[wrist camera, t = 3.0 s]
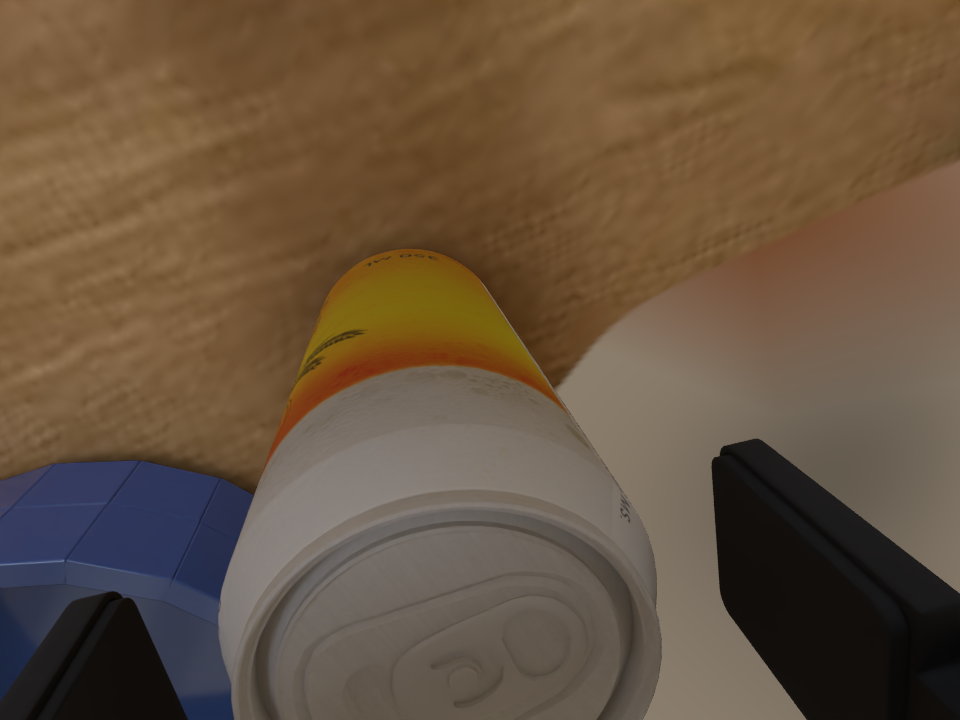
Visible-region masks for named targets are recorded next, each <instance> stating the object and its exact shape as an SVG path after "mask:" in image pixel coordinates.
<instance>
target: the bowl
mask: <svg viewBox="0 0 960 720" xmlns="http://www.w3.org/2000/svg"><path fill="white" fill-rule="evenodd" d="M253 497H254V495H253V494H251V493H249V492H247V491H245V490H243V489H241V488H240V487H238V486H236V485H234V484H232V483H230V482H228V481H226V480H224V479H220V478H218V477H213V476H209V475H204V474H200V473H195V472H191V471H186V470H182V469H177V468H173V467H168V466H164V465H159V464H155V463H150V462H146V461H141V462H140V461H139V460H132V461H106V462H81V463H58V464H52V465H49V466H45V467H42V468H39V469H36V470H33V471H30V472H27V473H24V474H21V475H18V476H15V477H12V478H8V479H5V480H2V481H0V701H1V700H2V698H3V697H4V695H5V694H6V693H7V691H8V690H9V688H10V687H11V685H12V684H13V683H14V681H15V680H16V678H17V677H18V675H19V674H20V673H21V671H22V670H23V668H24V667H25V665H26V664H27V663H28V661H29V660H30V658H31V657H32V656H33V654H34V653H35V651H36V650H37V648H38V647H39V646H40V644H41V643H42V641H43V640H44V638H45V637H46V636H47V634H48V633H49V631H50V630H51V629H52V627H53V626H54V624H55V623H56V621H57V620H58V619H59V617H60V616H61V614H62V613H63V611H64V610H65V609H66V607H67V606H68V605H69V604H70V603H71V602H72V601H74V600H77V599H81V598H85V597H89V596H93V595H98V594H102V593H106V592H110V591H115V592H118V593H119V594H120V595H122V597H123V598H127V597H128V598H131V599H132V600H133V601H134V602H135V604H136V605H137V608H138V610H139V612H140V614H141V617H142V619H143V621H144V623H145V625H146V628H147V630H148V632H149V634H150V636H151V639H152V641H153V643H154V645H155V648H156V650H157V652H158V654H159V656H160V659H161V661H162V663H163V665H164V667H165V670H166V672H167V674H168V676H169V679H170V681H171V683H172V685H173V687H174V690H175V692H176V694H177V696H178V699H179V701H180V703H181V705H182V707H183V710H184V712H185V714H186V716H187V718H188V720H234V715H233V709H232V702H231V682H230V679H229V676H228V673H227V670H226V667H225V664H224V660H223V657H222V654H221V647H220V641H219V634H218V610H219V604H220V597H221V590H222V586H223V583H224V580H225V576H226V573H227V570H228V567H229V564H230V561H231V558H232V555H233V553H234V550H235V547H236V544H237V542H238V539H239V536H240V533H241V531H242V528H243V525H244V522H245V519H246V517H247V514H248V511H249V508H250V506H251V503H252V500H253Z"/></svg>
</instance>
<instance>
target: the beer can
mask: <svg viewBox="0 0 960 720" xmlns="http://www.w3.org/2000/svg"><path fill="white" fill-rule="evenodd" d="M656 580H657V578H656V568H655V561H654V554H653V551H652V548H651V544H650V541H649V537H648V534H647V532H646V530H645V528H644V526H643V524H642V521H641V519H640V517H639V515H638V514H637V512H636V511H635V509H634V508H633V506H632V504H631V503H630V502H629V500H628V499H627V497H626V495H625V494H624V492H623V491H622V489H621V488H620V486H619V485H618V483H617V482H616V481H615V479H614V477H613V476H612V474H611V473H610V471H609V470H608V469H607V467H606V466H605V464H604V463H603V461H602V460H601V458H600V457H599V455H598V454H597V452H596V451H595V449H594V448H593V446H592V445H591V443H590V442H589V440H588V439H587V437H586V436H585V434H584V433H583V431H582V430H581V428H580V427H579V425H578V424H577V422H576V421H575V419H574V418H573V416H572V415H571V413H570V412H569V410H568V409H567V408H566V406H565V404H564V403H563V401H562V400H561V399H560V397H559V396H558V394H557V393H556V391H555V390H554V388H553V387H552V385H551V384H550V382H549V381H548V379H547V378H546V376H545V375H544V373H543V372H542V370H541V369H540V367H539V366H538V364H537V363H536V361H535V360H534V358H533V357H532V355H531V354H530V352H529V351H528V349H527V348H526V346H525V345H524V343H523V342H522V340H521V339H520V337H519V336H518V334H517V333H516V331H515V330H514V328H513V327H512V325H511V324H510V323H509V321H508V320H507V318H506V317H505V315H504V314H503V312H502V311H501V309H500V308H499V306H498V305H497V303H496V302H495V300H494V299H493V297H492V296H491V294H490V293H489V291H488V290H487V288H486V287H485V285H484V284H483V283H482V282H481V281H480V279H479V278H478V277H477V276H476V275H475V274H474V273H473V272H472V271H470V270H469V269H468V268H466V267H465V266H464V265H462V264H461V263H459V262H457V261H456V260H454V259H452V258H450V257H447V256H445V255H443V254H439V253H436V252H433V251H428V250H422V249H397V250H392V251H387V252H383V253H380V254H377V255H374V256H372V257H370V258H367V259H365V260H363V261H362V262H360V263H358V264H357V265H355V266H354V267H353V268H351V269H350V270H349V271H347V272H346V273H345V274H344V275H343V276H342V277H341V278H340V279H339V280H338V281H337V283H336V284H335V285H334V286H333V288H332V289H331V291H330V292H329V294H328V296H327V297H326V300H325V302H324V304H323V306H322V309H321V311H320V314H319V317H318V320H317V323H316V325H315V328H314V331H313V334H312V336H311V339H310V342H309V345H308V347H307V350H306V353H305V356H304V359H303V361H302V364H301V367H300V370H299V372H298V375H297V378H296V381H295V384H294V386H293V389H292V392H291V395H290V397H289V400H288V403H287V406H286V408H285V411H284V414H283V417H282V420H281V422H280V425H279V428H278V431H277V433H276V436H275V439H274V442H273V445H272V447H271V450H270V453H269V456H268V458H267V461H266V464H265V467H264V470H263V472H262V475H261V478H260V481H259V483H258V486H257V489H256V492H255V494H254V497H253V500H252V503H251V506H250V508H249V511H248V514H247V517H246V519H245V522H244V525H243V528H242V531H241V533H240V536H239V539H238V542H237V544H236V547H235V550H234V553H233V555H232V558H231V561H230V564H229V567H228V570H227V573H226V576H225V580H224V583H223V586H222V590H221V597H220V604H219V610H218V634H219V641H220V647H221V654H222V657H223V660H224V664H225V667H226V670H227V673H228V676H229V679H230V682H231V702H232V709H233V715H234V720H643V718H644V716H645V714H646V712H647V710H648V708H649V705H650V703H651V700H652V698H653V696H654V693H655V689H656V685H657V682H658V678H659V673H660V665H661V658H662V653H661V648H662V646H661V633H660V626H659V619H658V616H657V613H656V595H657V581H656Z"/></svg>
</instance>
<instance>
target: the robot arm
mask: <svg viewBox="0 0 960 720" xmlns="http://www.w3.org/2000/svg"><path fill="white" fill-rule="evenodd" d="M712 480H713V495H714V510H715V525H716V539H717V554H718V570H719V584H720V593H721V597H722V600H723V603H724V606H725V607H726V610H727V611H728V613H729V615H730V616H731V617H732V619H733V620H734V621H735V623H736V624H737V625H738V627H739V628H740V630H741V631H742V632H743V633H744V635H745V636H746V638H747V639H748V640H749V642H750V643H751V644H752V646H753V647H754V648H755V650H756V651H757V652H758V654H759V655H760V657H761V658H762V659H763V661H764V662H765V663H766V665H767V666H768V668H769V669H770V670H771V672H772V673H773V674H774V676H775V677H776V678H777V680H778V681H779V682H780V684H781V685H782V686H783V688H784V689H785V690H786V692H787V693H788V695H789V696H790V697H791V699H792V700H793V701H794V703H795V704H796V705H797V707H798V708H799V710H800V711H801V712H802V714H803V715H804V716H805V718H806V719H807V720H960V593H958V592H957V591H956V590H954V589H953V588H952V587H950V586H949V585H948V584H947V583H945V582H944V581H943V580H942V579H940V578H939V577H938V576H936V575H935V574H934V573H932V572H931V571H930V570H929V569H927V568H926V567H925V566H923V565H922V564H921V563H919V562H918V561H917V560H916V559H914V558H913V557H912V556H910V555H909V554H908V553H906V552H905V551H904V550H903V549H901V548H900V547H899V546H897V545H896V544H895V543H894V542H892V541H891V540H890V539H888V538H887V537H886V536H884V535H883V534H882V533H881V532H880V531H878V530H877V529H875V528H874V527H873V526H872V525H870V524H869V523H868V522H867V521H865V520H864V519H863V518H861V517H860V516H859V515H858V514H856V513H855V512H854V511H852V510H851V509H850V508H848V507H847V506H846V505H845V504H843V503H842V502H841V501H839V500H838V499H837V498H836V497H834V496H833V495H832V494H830V493H829V492H828V491H826V490H825V489H824V488H823V487H821V486H820V485H819V484H818V483H816V482H815V481H814V480H812V479H811V478H810V477H808V476H807V475H806V474H804V473H803V472H802V471H801V470H799V469H798V468H797V467H796V466H794V465H793V464H791V463H790V462H789V461H788V460H786V459H785V458H784V457H783V456H781V455H780V454H779V453H777V452H776V451H775V450H774V449H772V448H771V447H770V446H768V445H767V444H766V443H765V442H763V441H762V440H760V439H752V440H748V441H744V442H739V443H735V444H731V445H727V446H723V447H722V448H721V451H720V456H719V457H715V458H714V459H713V460H712ZM0 720H188V718H187V716H186V714H185V712H184V710H183V707H182V705H181V703H180V701H179V699H178V696H177V694H176V692H175V690H174V687H173V685H172V683H171V681H170V679H169V676H168V674H167V672H166V670H165V667H164V665H163V663H162V661H161V659H160V656H159V654H158V652H157V650H156V648H155V645H154V643H153V641H152V639H151V636H150V634H149V632H148V630H147V628H146V625H145V623H144V621H143V619H142V617H141V614H140V612H139V610H138V608H137V605H136V604H135V602H134V601H133V600H132V599H131V598H128V597H127V598H123V597H122V595H120V594H119V593H118V592H115V591H110V592H106V593H102V594H98V595H93V596H89V597H85V598H81V599H77V600H74V601H72V602H71V603H70V604H69V605H68V606H67V607H66V609H65V610H64V611H63V613H62V614H61V616H60V617H59V619H58V620H57V621H56V623H55V624H54V626H53V627H52V629H51V630H50V631H49V633H48V634H47V636H46V637H45V638H44V640H43V641H42V643H41V644H40V646H39V647H38V648H37V650H36V651H35V653H34V654H33V656H32V657H31V658H30V660H29V661H28V663H27V664H26V665H25V667H24V668H23V670H22V671H21V673H20V674H19V675H18V677H17V678H16V680H15V681H14V683H13V684H12V685H11V687H10V688H9V690H8V691H7V693H6V694H5V695H4V697H3V698H2V700H1V701H0Z"/></svg>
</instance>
